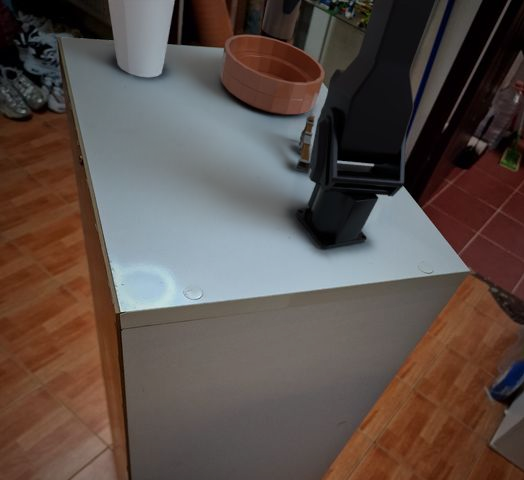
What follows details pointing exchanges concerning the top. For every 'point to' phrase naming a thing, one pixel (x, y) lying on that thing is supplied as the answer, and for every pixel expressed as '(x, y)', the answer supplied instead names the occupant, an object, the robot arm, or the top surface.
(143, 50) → the foam cup
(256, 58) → the bowl
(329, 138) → the robot arm
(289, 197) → the top surface
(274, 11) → the brown cylinder
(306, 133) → the wooden post with brackets
